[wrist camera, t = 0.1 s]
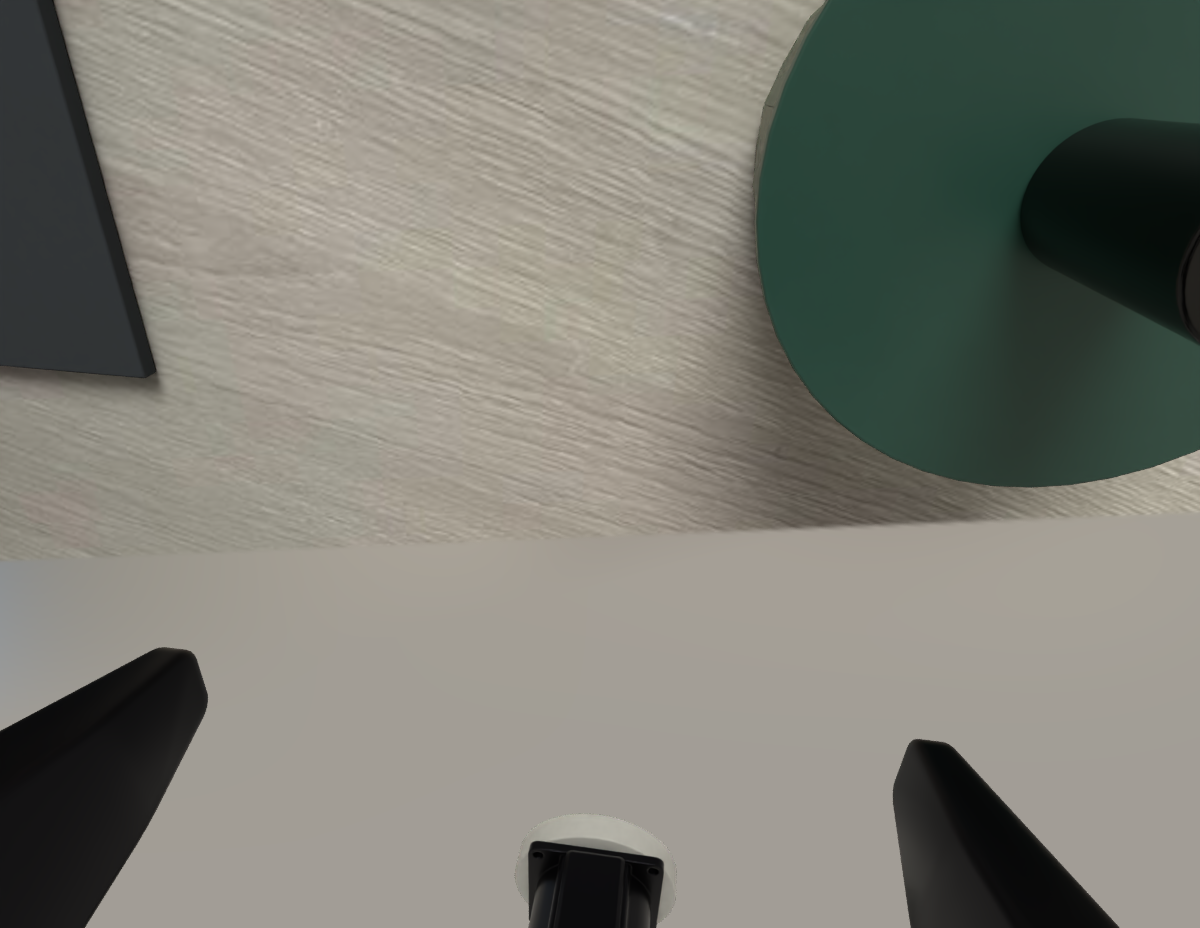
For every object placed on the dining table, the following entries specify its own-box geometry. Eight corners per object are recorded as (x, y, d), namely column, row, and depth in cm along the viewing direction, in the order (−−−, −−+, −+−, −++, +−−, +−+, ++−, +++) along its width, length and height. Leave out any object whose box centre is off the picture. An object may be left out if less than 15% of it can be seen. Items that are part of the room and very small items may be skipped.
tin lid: (1248, 486, 15) (1523, 687, 10) (718, 438, 16) (729, 601, 11) (1647, -223, 9) (2679, -555, 5) (809, -231, 10) (913, -513, 5)
